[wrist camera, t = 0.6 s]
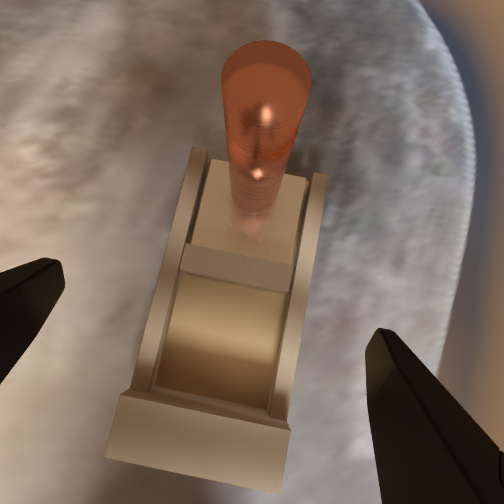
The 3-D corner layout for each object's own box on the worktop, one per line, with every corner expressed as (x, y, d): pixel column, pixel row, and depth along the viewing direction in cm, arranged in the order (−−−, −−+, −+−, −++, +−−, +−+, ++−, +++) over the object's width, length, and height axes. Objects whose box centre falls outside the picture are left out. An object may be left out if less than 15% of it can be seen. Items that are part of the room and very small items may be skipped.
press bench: (271, 455, 21) (280, 494, 16) (133, 426, 21) (103, 457, 16) (318, 192, 24) (335, 165, 20) (198, 167, 24) (188, 134, 20)
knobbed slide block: (282, 294, 21) (329, 274, 10) (187, 274, 21) (126, 231, 10) (302, 185, 22) (363, 60, 11) (213, 166, 22) (186, 23, 11)
